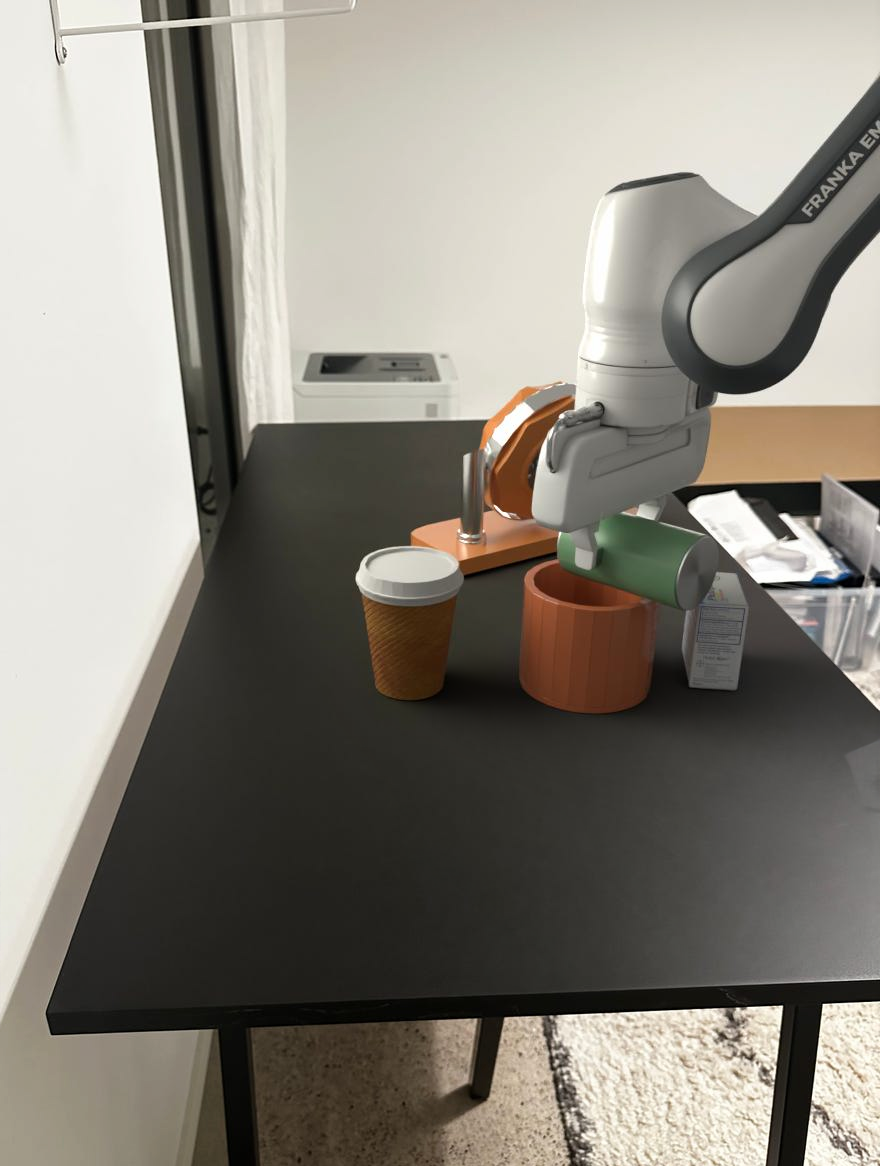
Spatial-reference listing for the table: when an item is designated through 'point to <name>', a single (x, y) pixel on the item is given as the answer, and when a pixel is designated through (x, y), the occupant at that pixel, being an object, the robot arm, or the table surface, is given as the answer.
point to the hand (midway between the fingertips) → (615, 554)
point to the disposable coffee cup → (409, 617)
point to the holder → (585, 642)
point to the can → (649, 560)
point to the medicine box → (716, 635)
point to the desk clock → (503, 486)
